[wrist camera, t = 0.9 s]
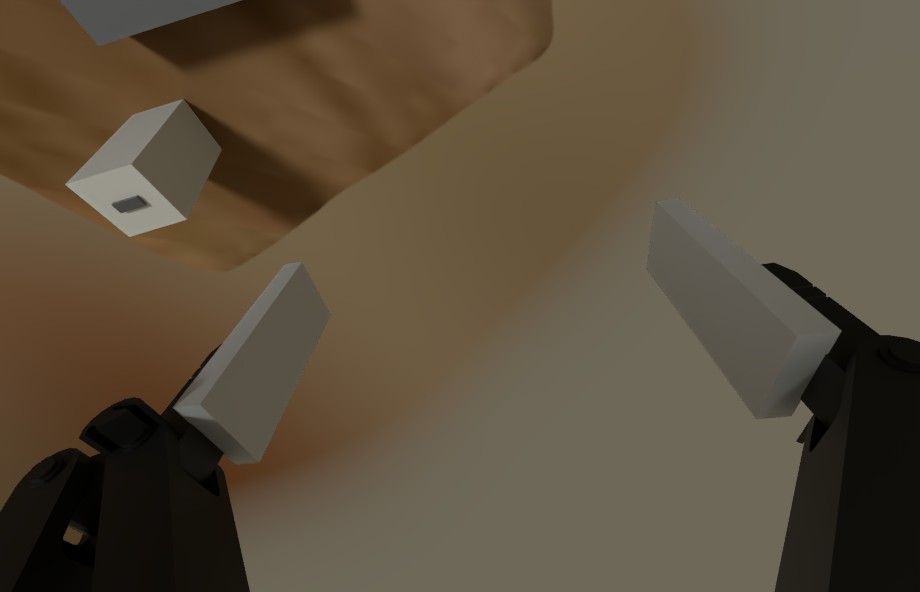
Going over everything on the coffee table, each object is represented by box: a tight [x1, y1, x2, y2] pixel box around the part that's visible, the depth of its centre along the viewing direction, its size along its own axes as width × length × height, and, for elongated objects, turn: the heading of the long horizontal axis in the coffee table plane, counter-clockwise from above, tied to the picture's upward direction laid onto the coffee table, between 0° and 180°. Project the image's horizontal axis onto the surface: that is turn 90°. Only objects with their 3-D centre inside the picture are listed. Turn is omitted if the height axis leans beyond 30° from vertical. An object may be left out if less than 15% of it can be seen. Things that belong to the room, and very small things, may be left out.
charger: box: [65, 99, 222, 237], centre depth 31 cm, size 5×5×12 cm
